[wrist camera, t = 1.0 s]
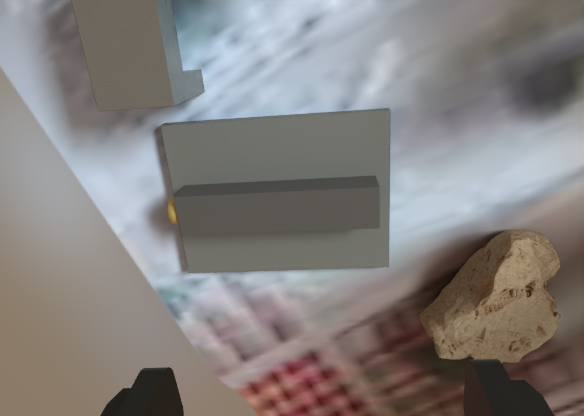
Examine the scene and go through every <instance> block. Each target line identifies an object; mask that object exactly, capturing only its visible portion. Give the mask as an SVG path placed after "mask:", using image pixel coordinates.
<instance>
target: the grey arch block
mask: <svg viewBox="0 0 584 416" xmlns="http://www.w3.org/2000/svg"><path fill="white" fill-rule="evenodd" d="M71 1H72V5H73V10H74V14H75V18H76V22H77V26H78V30H79V34H80V38H81V42H82V46H83V50H84V55H85V59H86V63H87V67H88V71H89V75H90V79H91V83H92V87H93V91H94V95H95V100H96V104H97V108H98V111H110V110H124V109H139V108H153V107H167V106H175V105H178V104H180V103H182V102H184V101H186V100H188V99H190V98H192V97H194V96H197V95H199V94H201V93H203V92H205V91H204V84H203V78H202V71H201V69H200V70H187V71H183V69H182V63H181V57H180V51H179V44H178V38H177V32H176V26H175V20H174V14H173V8H172V2H171V0H71Z"/></svg>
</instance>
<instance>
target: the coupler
mask: <svg viewBox="0 0 584 416" xmlns="http://www.w3.org/2000/svg"><path fill="white" fill-rule="evenodd" d="M160 127H161V132H162V137H163V142H164V147H165V153H166V158H167V163H168V168H169V173H170V178H171V184H172V189H173V194H174V197H171V198H170V199H169V201H168V206H167V213H168V218H169V221H170V223H171V224H179V226H180V231H181V236H182V241H183V246H184V251H185V256H186V261H187V266H188V272H189V273H209V272H241V271H273V270H305V269H338V268H370V267H389V208H390V110H389V109H388V108H386V109H371V110H356V111H341V112H326V113H310V114H295V115H280V116H265V117H250V118H235V119H219V120H204V121H189V122H174V123H164V124H163V125H161V126H160Z"/></svg>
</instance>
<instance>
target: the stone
mask: <svg viewBox="0 0 584 416" xmlns="http://www.w3.org/2000/svg"><path fill="white" fill-rule="evenodd" d="M559 268H560V261H559V257H558V255H557V253H556V252H555V249H554V247H553V246H552V245H551V243H550V241H549V239H548V238H547V237H546V236H545V235H543V234H539V233H536V232H533V231H529V230H524V229H523V230H507V231H504V232H502V233H500V234H498V235H497V236H495V237H494V238H492V239H491V240H490V241H489V243H488V244H487V245H486V246H485V247H483V248H481V249H479V250H478V251H477V252H475V253H474V254H473V255H472V256H471V257H470V258H469V259H468V260H467V262H466V263H465V264H464V265H463V266H462V268H461V269H460V270H459V272H458V273H457V274H456V275H455V277H454V278H453V279H452V281H451V282H450V283H449V284H448V285H447V286H445V287H444V288H443V290H442V291H441V293H440V294H439V296H438V297H437V298H436V299H435V300H434V301H433V303H431V304H430V305H428V307H427V308H426V309H425V310H424V311H423V312H421V313H420V315H419V318H420V323H422V325H423V328H424V330H425V331H426V333H427V335H428V336H429V337H430V338H431V339H432V340H433V342H434V344H435V351H436V353H437V355H438V357H440V358H442V359H451V360H455V359H463V358H467V356H470V357H472V358H473V359H474V360H478V359H498V360H500V362H501V363H503V362H509V363H518V362H519V361H520V360H521V358H522V357H523V356H524V355H526V354H527V353H529V352H531V351H533V350H535V349H537V348H539V347H540V346H541V345H542V344H543V343H545V342H546V341H548V340H549V339H550V338H551V337H553V336H554V333H555V332H556V329H557V325H558V323H559V322H560V320H561V315H560V314H559V313H558V312H554V308H555V307H556V303H555V301H554V297H553V296H552V295H551V294H550V293H549V292H548V291H547V280H548V279H550V278H552V277H553V276H554V275H555V274H556V273H557V271H558V270H559Z"/></svg>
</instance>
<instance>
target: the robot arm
mask: <svg viewBox="0 0 584 416" xmlns="http://www.w3.org/2000/svg"><path fill="white" fill-rule="evenodd" d="M464 414H465V416H554V414H553V413H552V411H551V409H550V408H549V406H548V404H547V402H546V401H545V399H544V397H543V396H542V395H541V394H540V393H539V392H537V391H536V390H535V389H534V388H533V387H532V386H531V385H529V384H528V383H527V382H526V381H525V380H510V378H509V376H508V374H507V372H506V370H505V369H504V367H503V365H502V363H501V362H500V360H498V359H478V360H467V362H466V372H465V388H464ZM101 416H184V413H183V405H182V402H181V398H180V394H179V391H178V387H177V383H176V380H175V376H174V373H173V370H172V369H171V368H169V367H168V368H144V369H142V370H141V371H140V373H139V374H138V376H137V378H136V380H135V382H134V384H133V386H132V387H131V388H126V389H125V388H124V389H122V390H121V391H120V392H119V393H118V394H117V395H116V396H115V397H114V398H113V399H112V400H111V401H110V402H109V403H108V404H107V405H106V407H105V409H104V410H103V412H102V414H101Z"/></svg>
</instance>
